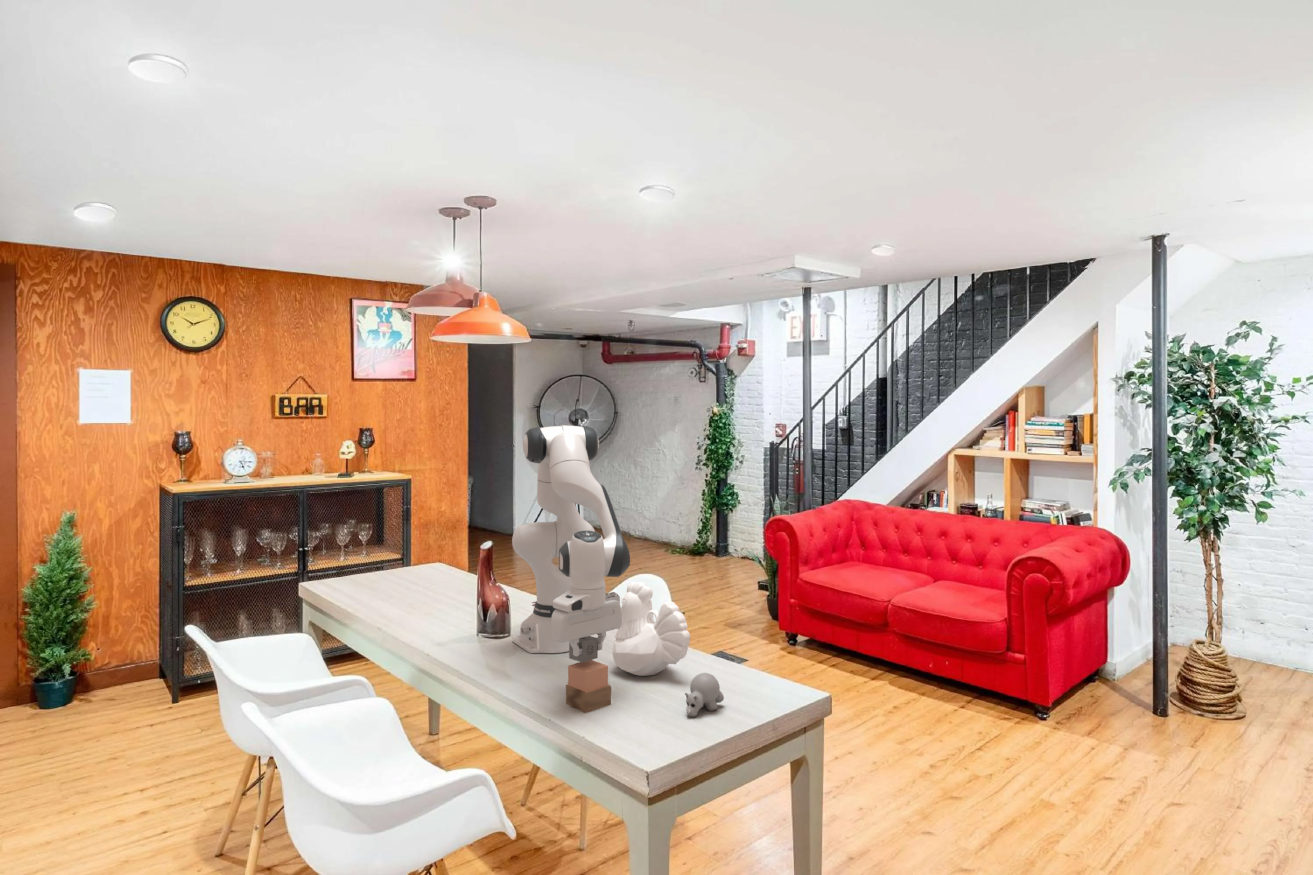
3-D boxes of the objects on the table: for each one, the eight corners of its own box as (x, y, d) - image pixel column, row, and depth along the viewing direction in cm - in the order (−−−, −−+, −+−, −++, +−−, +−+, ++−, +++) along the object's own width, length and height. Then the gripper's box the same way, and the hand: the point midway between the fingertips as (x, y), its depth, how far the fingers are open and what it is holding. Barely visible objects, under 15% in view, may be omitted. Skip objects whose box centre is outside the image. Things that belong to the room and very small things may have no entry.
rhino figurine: (679, 723, 185) (670, 694, 183) (705, 691, 194) (697, 664, 191) (702, 730, 181) (694, 701, 178) (729, 698, 189) (721, 669, 187)
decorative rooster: (602, 668, 217) (602, 581, 217) (648, 657, 226) (648, 574, 226) (652, 694, 197) (652, 599, 196) (700, 682, 206) (700, 590, 205)
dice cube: (584, 653, 195) (584, 634, 194) (597, 657, 191) (597, 637, 191) (569, 658, 191) (569, 638, 191) (582, 662, 187) (582, 642, 187)
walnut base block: (565, 704, 190) (565, 684, 190) (591, 696, 196) (591, 677, 196) (585, 713, 185) (585, 693, 185) (611, 705, 190) (611, 685, 190)
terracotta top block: (568, 685, 190) (568, 665, 190) (589, 678, 195) (589, 659, 195) (586, 692, 185) (586, 672, 185) (607, 685, 190) (607, 665, 190)
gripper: (611, 588, 199) (611, 641, 199) (546, 602, 185) (547, 658, 185) (627, 592, 194) (627, 646, 195) (562, 606, 180) (562, 664, 181)
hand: (587, 652), depth 190 cm, fingers closed on dice cube, 5 cm apart
